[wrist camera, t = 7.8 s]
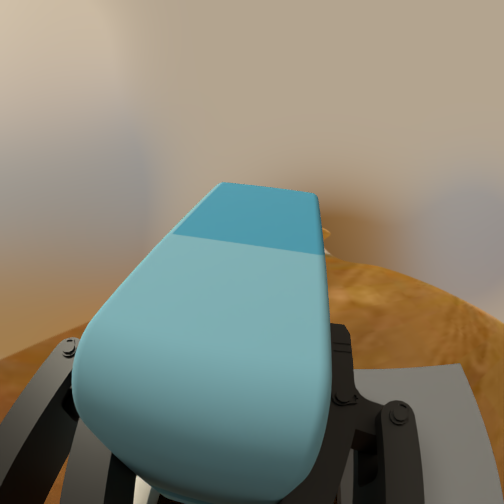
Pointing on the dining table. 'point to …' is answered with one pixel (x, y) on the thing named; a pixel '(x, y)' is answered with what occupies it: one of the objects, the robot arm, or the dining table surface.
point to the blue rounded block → (217, 352)
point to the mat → (437, 433)
